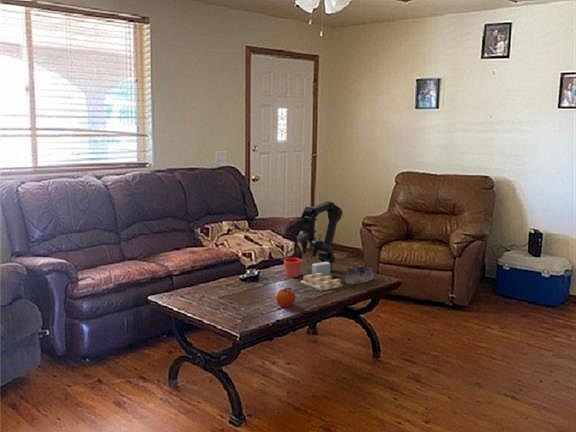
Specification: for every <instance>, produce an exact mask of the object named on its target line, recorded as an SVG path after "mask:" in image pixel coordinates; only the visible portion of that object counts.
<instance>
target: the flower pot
mask: <svg viewBox="0 0 576 432" xmlns="http://www.w3.org/2000/svg"><path fill="white" fill-rule="evenodd" d="M302 262H303V260H302V258H298V257H286V258H284V259H283V264H284V265H283V266H284V272H285V276H286V277H288V278H298V277H299V275H300V273H301V267H302V264H303V263H302Z"/></svg>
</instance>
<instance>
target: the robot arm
mask: <svg viewBox="0 0 576 432" xmlns="http://www.w3.org/2000/svg"><path fill="white" fill-rule="evenodd" d="M324 212H326V213H327V219H328V224H327V227H326V233H325V238H324V241H323V240H321V239H317V237H316V233H317V230H316V221H318V218H317V217H319V214H321V213H324ZM342 217H343V210H342V208H341V207H339V206H338V205H336V204H335V203H334V202H333V201H328V200H327V201H325V202H323V203H320V204H317V205H314V206H306V207H304V209H303V211H302V214H301V215H300V217H299V219H298V220H297V222H296V223H295V225H294V226H295V227H294V228H295V230H296V231H297V232H299V233H300V232H302V233H300V234H298V235H297V236H296V240H295V241H297V243H299V244H300V245H301V250H302V253H303V254H306V252H307V249H308V244H309V243H310V245H311V246H310V247H311V248H312V257H314V258H315V257H316V255H317V256H318V259H319V261H321V262H320V263H322V262H329V263H330V264H331V267H330V273H331V272H332V273H333V272H334V271H335V270H333V263H335V262H336V257H335V256H334V250H333V249H334V248H333V246H332V245H333V242H334V238H335V237H334V236H335V233H336V229H337V225H338V222H339V221H341V218H342ZM317 253H318V254H317Z"/></svg>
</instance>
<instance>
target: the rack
mask: <svg viewBox="0 0 576 432" xmlns="http://www.w3.org/2000/svg"><path fill="white" fill-rule="evenodd" d="M341 280H342V279H341V278H336V279H335V278H334V279H333V276H332V275H331V274H330V276H325V277H324V273H316V274H312V273H311V274H305V275H303V279H302V280H300V283H301V284H304V285H306V286H308V287H312V288H313V289H315V290H318V291H320V292H322V291H326V290H331V289H336V288H342V287H344V284H342V283H341V282H342V281H341Z"/></svg>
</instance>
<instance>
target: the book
mask: <svg viewBox="0 0 576 432" xmlns="http://www.w3.org/2000/svg"><path fill="white" fill-rule="evenodd" d="M330 267H331V264H330V263H329V262H322V263H321V262H317V263H312V264H311V274H316V273H324V277H325V276H330V275H331V272H330Z"/></svg>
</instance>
